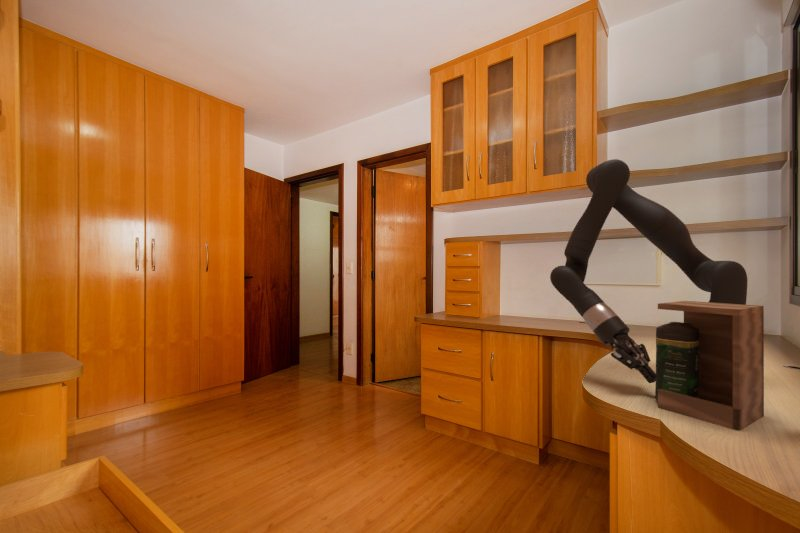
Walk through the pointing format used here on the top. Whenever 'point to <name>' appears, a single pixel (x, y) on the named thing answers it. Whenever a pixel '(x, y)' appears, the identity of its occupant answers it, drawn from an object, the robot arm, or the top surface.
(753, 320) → the walnut cubby
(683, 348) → the coffee jar
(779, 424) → the top surface
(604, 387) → the top surface
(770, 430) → the top surface
